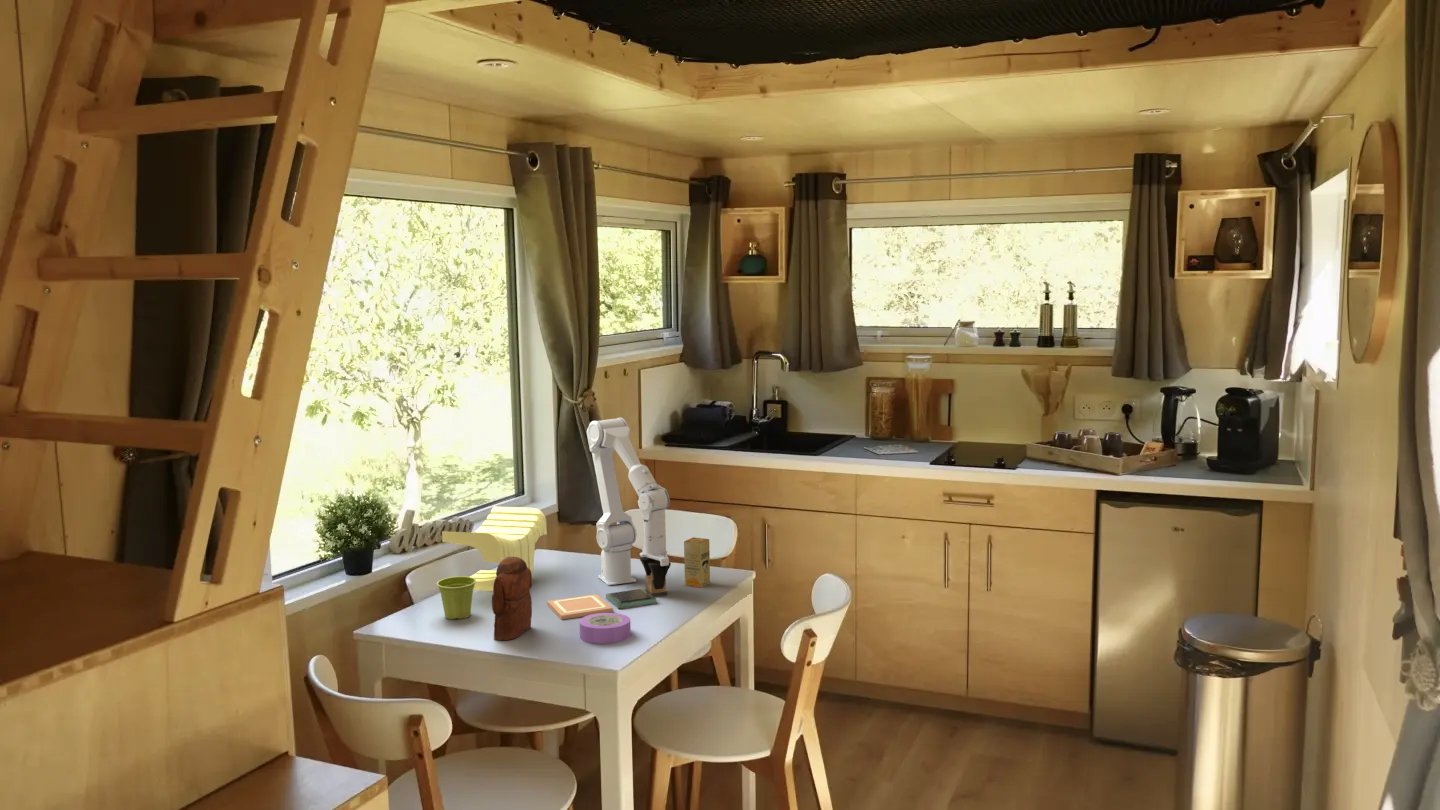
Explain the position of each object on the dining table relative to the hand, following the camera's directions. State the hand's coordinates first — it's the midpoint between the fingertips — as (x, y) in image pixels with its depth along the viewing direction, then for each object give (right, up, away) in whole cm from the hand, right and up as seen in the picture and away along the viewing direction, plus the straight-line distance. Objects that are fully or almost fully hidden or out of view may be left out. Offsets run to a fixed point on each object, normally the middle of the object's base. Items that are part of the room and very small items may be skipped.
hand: (655, 586), depth 278 cm
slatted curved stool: (-43, -1, +12) cm, 45 cm away
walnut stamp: (0, -2, 0) cm, 2 cm away
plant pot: (-48, -5, -15) cm, 50 cm away
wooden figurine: (-32, -6, -29) cm, 43 cm away
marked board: (-18, -4, -11) cm, 22 cm away
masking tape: (-10, -6, -31) cm, 33 cm away
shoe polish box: (+11, -1, +8) cm, 14 cm away
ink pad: (-6, -3, -6) cm, 9 cm away
